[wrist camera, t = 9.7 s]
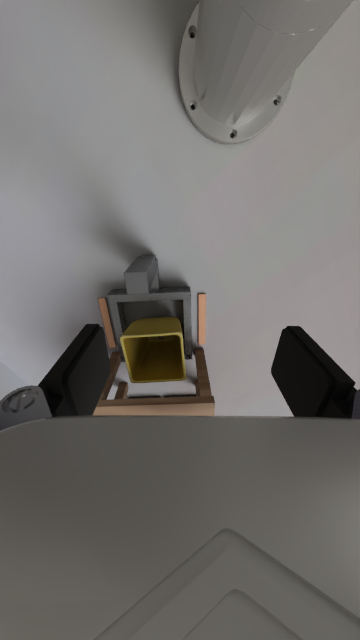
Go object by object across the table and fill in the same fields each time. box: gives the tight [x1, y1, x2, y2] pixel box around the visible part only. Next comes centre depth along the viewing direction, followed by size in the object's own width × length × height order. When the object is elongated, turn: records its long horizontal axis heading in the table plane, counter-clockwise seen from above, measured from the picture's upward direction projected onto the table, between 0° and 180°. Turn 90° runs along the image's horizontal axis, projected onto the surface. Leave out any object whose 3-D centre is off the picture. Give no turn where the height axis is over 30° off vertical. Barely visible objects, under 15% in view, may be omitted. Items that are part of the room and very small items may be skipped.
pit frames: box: [129, 395, 196, 399], centre depth 48 cm, size 7×15×1 cm, turn 92°
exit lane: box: [98, 294, 206, 348], centre depth 38 cm, size 10×18×1 cm, turn 92°
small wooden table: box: [93, 349, 215, 416], centre depth 37 cm, size 10×18×13 cm, turn 92°
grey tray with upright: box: [107, 255, 192, 362], centre depth 32 cm, size 18×13×10 cm
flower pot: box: [120, 317, 186, 383], centre depth 35 cm, size 9×9×9 cm
